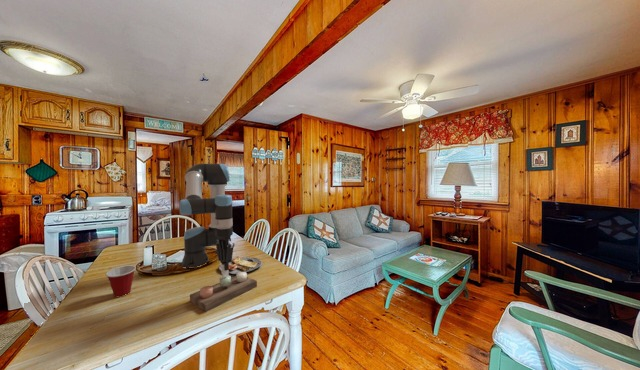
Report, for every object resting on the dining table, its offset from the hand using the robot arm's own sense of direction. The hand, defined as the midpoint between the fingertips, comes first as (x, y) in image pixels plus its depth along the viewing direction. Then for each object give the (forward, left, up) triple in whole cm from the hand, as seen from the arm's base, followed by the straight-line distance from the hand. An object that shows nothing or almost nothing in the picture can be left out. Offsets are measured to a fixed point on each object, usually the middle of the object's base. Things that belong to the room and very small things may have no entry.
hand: (225, 276), depth 106 cm
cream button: (0, +9, -5) cm, 10 cm away
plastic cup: (-40, -29, -9) cm, 50 cm away
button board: (0, 0, -9) cm, 9 cm away
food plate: (-21, +23, -9) cm, 33 cm away
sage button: (0, 0, -4) cm, 4 cm away
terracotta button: (0, -9, -5) cm, 10 cm away
